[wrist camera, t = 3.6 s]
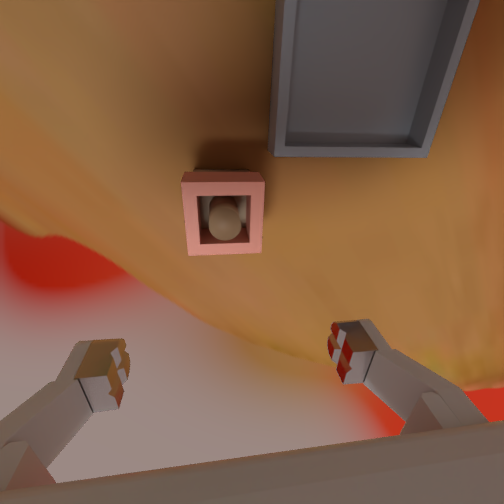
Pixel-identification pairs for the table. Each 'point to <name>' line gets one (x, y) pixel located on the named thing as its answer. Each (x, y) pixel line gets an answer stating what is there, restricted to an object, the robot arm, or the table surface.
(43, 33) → the table surface
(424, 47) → the tray
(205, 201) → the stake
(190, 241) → the ring
